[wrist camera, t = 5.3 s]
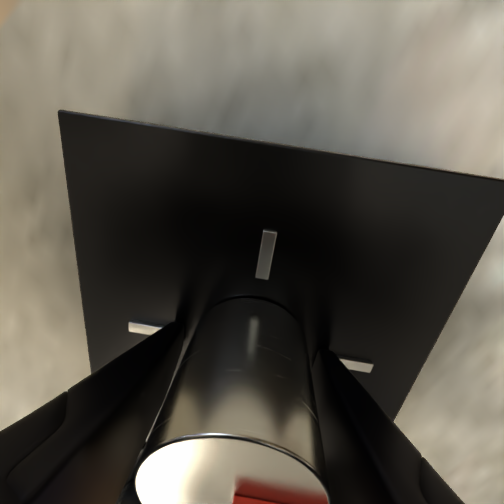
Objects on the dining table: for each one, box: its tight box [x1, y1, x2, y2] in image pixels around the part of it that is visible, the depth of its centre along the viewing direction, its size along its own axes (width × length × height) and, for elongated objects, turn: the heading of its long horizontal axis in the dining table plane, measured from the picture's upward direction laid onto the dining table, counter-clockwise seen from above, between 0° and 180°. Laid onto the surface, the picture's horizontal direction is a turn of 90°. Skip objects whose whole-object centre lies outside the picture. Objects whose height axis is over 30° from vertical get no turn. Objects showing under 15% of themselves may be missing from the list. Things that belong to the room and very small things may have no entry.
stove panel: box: [58, 110, 504, 442], centre depth 10 cm, size 12×11×3 cm
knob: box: [134, 298, 331, 504], centre depth 6 cm, size 4×4×4 cm
